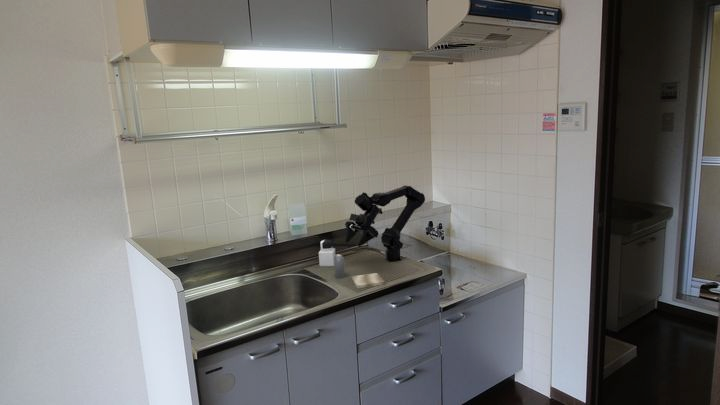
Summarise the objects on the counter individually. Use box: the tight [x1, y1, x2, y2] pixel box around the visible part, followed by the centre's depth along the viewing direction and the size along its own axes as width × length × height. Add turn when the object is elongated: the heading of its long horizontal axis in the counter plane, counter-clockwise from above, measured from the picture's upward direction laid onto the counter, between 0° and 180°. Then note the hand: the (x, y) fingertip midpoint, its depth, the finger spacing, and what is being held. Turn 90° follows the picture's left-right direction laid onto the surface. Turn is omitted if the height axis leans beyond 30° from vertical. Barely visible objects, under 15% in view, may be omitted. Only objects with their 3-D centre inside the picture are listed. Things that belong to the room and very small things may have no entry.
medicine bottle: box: [318, 239, 337, 267], centre depth 229 cm, size 7×7×12 cm
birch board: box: [350, 272, 386, 289], centre depth 203 cm, size 12×12×1 cm
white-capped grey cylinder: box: [333, 253, 346, 279], centre depth 211 cm, size 5×5×10 cm
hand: (352, 244), depth 214 cm, fingers open, 9 cm apart
